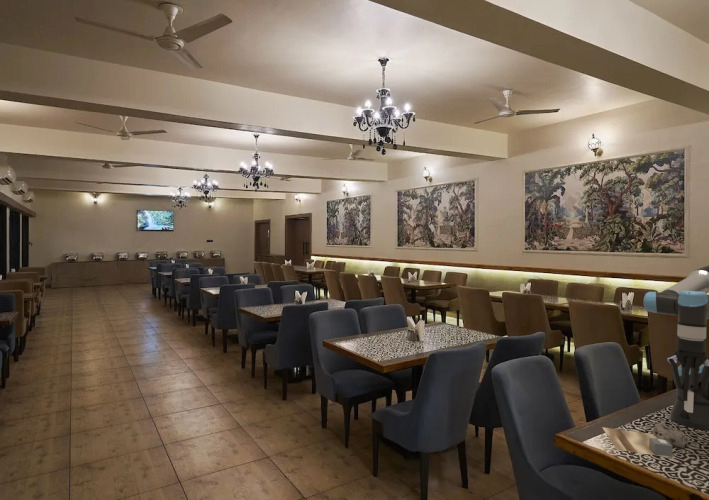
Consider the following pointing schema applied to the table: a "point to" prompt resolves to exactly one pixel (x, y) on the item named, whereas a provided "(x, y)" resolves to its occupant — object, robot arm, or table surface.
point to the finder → (660, 447)
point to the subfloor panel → (631, 441)
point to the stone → (670, 435)
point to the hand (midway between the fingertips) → (688, 411)
